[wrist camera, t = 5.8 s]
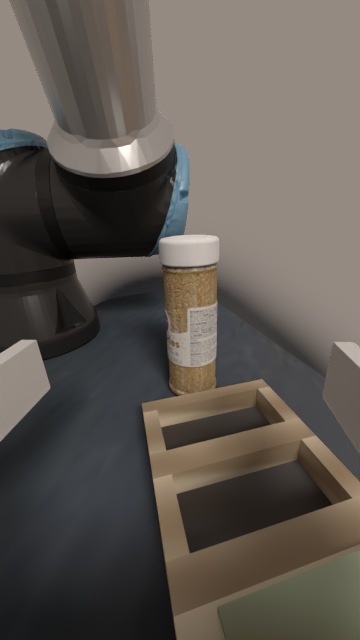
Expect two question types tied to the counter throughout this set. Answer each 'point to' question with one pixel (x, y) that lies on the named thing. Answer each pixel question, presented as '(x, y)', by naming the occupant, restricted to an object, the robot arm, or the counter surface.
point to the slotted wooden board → (253, 519)
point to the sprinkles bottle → (190, 310)
